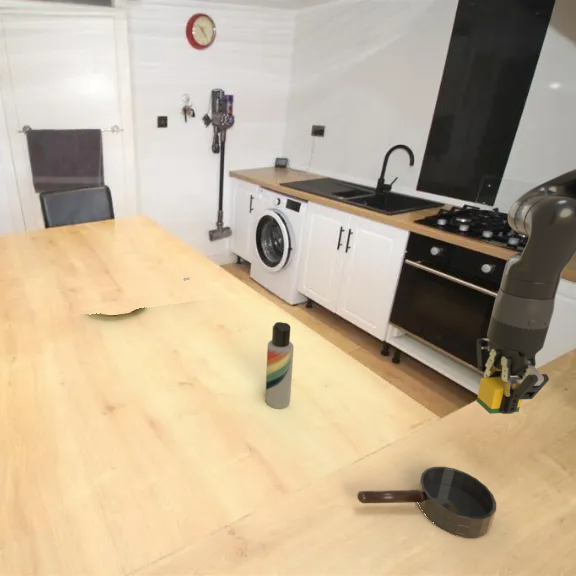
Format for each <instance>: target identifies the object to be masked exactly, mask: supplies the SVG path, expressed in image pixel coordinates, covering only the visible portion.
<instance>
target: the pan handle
mask: <svg viewBox="0 0 576 576" xmlns="http://www.w3.org/2000/svg"><path fill="white" fill-rule="evenodd" d="M356 496H357V497H356V498H357V500H358V502H359V503H361V504H409V503H417V502H423V501H424V500H425V495H424V493H423V492H422V491H420V490H418V489H404V490H403V489H402V490H359V492H358V493H357V495H356Z"/></svg>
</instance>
